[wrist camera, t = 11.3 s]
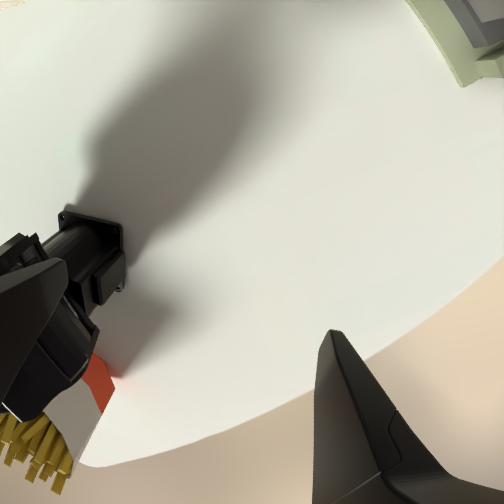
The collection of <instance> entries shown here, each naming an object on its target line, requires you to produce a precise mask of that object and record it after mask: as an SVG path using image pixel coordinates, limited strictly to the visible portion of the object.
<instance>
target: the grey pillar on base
mask: <svg viewBox="0 0 504 504" xmlns="http://www.w3.org/2000/svg"><path fill="white" fill-rule="evenodd" d="M444 2H445V3H446V4H447V6H448V7H449V9H450V10H451V12H452V13H453V15H454V16H455V18H456V19H457V21H458V23H459V24H460V26H461V27H462V29H463V31H464V32H465V34H466V36H467V38H468V39H469V41H470V43H471V45H472V46H473V48H480V47H488V46H491V45H493V44H495V43H497V42H499V41H501V40H504V0H444Z"/></svg>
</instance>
